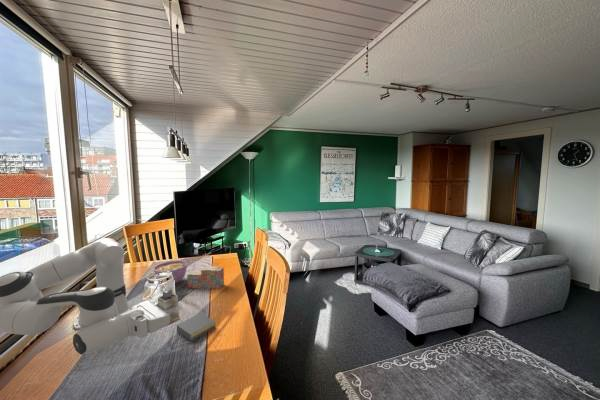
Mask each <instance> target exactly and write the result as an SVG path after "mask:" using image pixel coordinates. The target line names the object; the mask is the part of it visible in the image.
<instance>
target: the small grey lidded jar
mask: <svg viewBox="0 0 600 400" xmlns="http://www.w3.org/2000/svg"><path fill="white" fill-rule="evenodd" d="M157 303H158V307H159V308H160V309H162V310H163V311H165V310H169V308H170V307H172V306H174V307H175V308H176V311H175V312H172V313H171V314H170V323H169V324H168V325H167V326H165V327H168V326H169V325H172V324H174V323H176V322H178V321H180V320H181V317H180V311H179V310H180V308H179V296H178V295H177V294H175V293H174V292H172V298H170V299H168V300H165V301H164V300H163V295H160V296H158V297H157ZM165 327H164V328H165Z"/></svg>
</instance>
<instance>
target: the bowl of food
mask: <svg viewBox="0 0 600 400" xmlns="http://www.w3.org/2000/svg"><path fill="white" fill-rule="evenodd" d="M187 268H188V262H187V261H185V260H171V261H166V262H162V263H159V264H157V265H155V266H154V267H153V271H154V275H155V276H156V274H159V273H162V272H167V271H170V272H172V274H173V277H174V280H175V283H176V284H178V283H179V282H180V281H182V280H183V279H184V277H185V276H186V272H187Z"/></svg>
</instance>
